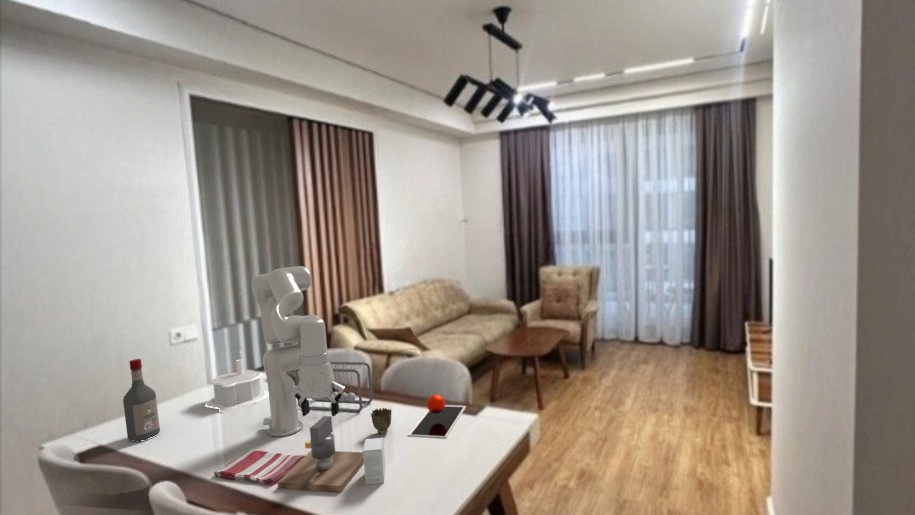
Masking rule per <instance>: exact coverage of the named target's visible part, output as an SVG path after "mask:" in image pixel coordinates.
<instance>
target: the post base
mask: <svg viewBox="0 0 915 515" xmlns="http://www.w3.org/2000/svg"><path fill="white" fill-rule="evenodd" d="M363 466H364V460H363V451H362V452H361V451H339V450H338V451H337V450H335V453H334V454H333V455H332V456H330V457H327V458H323V459H316V458H313V457H312V452H311V450H309V452H308V453H307V454H306V455H305V457H304V458H303V459H302V460H300V461H299V462H298V463H297V464H296V465H295V466H294V467H293V468H292V469H291V470H290V471H289V472H288V473H287V474H286V475H285V476H284V477H283V478H282V479H281V480H279V481H278V482H277V487H278V488H277V489H279V490H297V491H310V492H328V493H342V492H343V491H344V490H345V488H346V487H348V485H349V483H350V482H351V481H352V479H353V478H354V477H355V475H356V474H357V473H358V472H359V470H360V469H361V468H362V467H363Z"/></svg>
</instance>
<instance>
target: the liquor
mask: <svg viewBox="0 0 915 515" xmlns="http://www.w3.org/2000/svg"><path fill="white" fill-rule="evenodd" d="M142 368H143V365H142V359H141V358H136V359H131V360H129V370H130V372H131V373H130V374H131V387H130V388H129V389H128V391H127V392H126V394H125V395H124V396H123V399H122V403H123V410H124V419H125V426H126V435H127V440H128V441H129V440H134V441H141V440H146V439H148V438H150V437H153V436H155V435H157V434H158V433H159V434H160V432H161V426H160V419H159V409H158V401H157V393H156V391H155V390H154V389H153V388H151V387H150V386H148V385H147V384H146V383H145V381H144V377H143V370H142ZM159 434H158V435H159ZM155 437H156V436H155ZM153 438H154V437H153ZM146 441H147V440H146Z"/></svg>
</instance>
